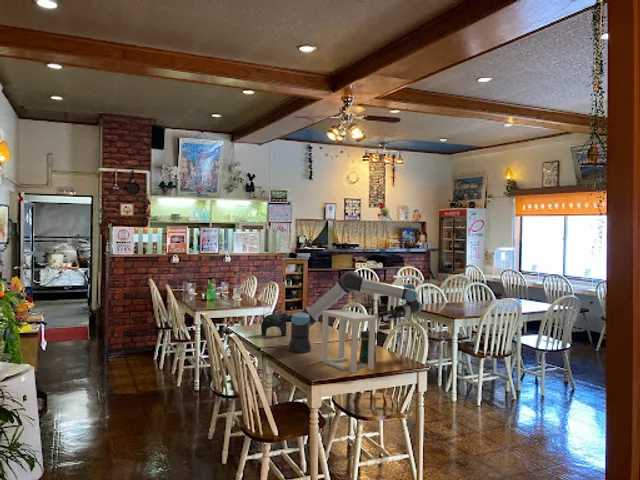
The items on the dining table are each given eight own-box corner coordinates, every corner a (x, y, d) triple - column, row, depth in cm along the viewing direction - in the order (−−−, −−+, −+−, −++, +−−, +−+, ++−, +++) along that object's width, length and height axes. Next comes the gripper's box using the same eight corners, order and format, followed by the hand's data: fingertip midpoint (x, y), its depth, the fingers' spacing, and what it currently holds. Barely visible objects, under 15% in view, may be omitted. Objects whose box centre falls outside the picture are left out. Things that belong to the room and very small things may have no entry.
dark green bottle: (363, 363, 302) (364, 332, 302) (357, 360, 310) (358, 329, 309) (377, 362, 306) (379, 331, 306) (371, 359, 313) (372, 329, 313)
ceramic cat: (288, 335, 378) (289, 307, 377) (287, 336, 371) (288, 309, 371) (261, 334, 377) (262, 307, 377) (260, 336, 371) (261, 308, 370)
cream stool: (351, 373, 281) (353, 319, 280) (319, 361, 305) (320, 310, 304) (374, 369, 291) (376, 316, 290) (341, 357, 315) (343, 309, 315)
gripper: (416, 316, 319) (391, 325, 308) (390, 316, 340) (365, 323, 328) (414, 305, 319) (388, 312, 308) (388, 305, 340) (363, 312, 329)
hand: (376, 318), depth 318 cm, fingers open, 13 cm apart
